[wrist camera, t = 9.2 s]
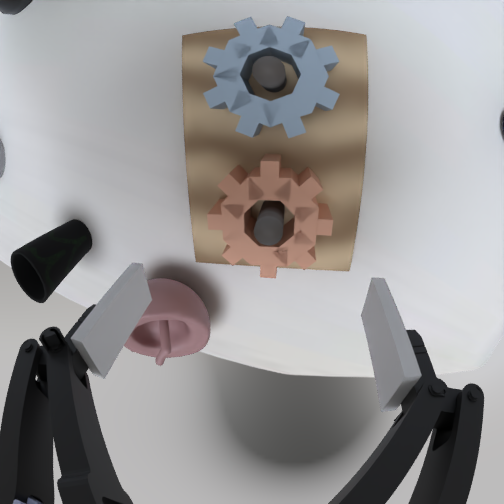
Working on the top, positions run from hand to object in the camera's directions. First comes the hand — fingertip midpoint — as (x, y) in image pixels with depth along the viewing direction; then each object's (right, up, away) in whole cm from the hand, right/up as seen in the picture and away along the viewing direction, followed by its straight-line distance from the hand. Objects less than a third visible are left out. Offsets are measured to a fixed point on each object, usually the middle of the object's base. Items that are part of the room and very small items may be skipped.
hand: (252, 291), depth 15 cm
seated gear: (+2, +18, +7) cm, 19 cm away
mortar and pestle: (-10, -4, +23) cm, 25 cm away
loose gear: (+2, +7, +13) cm, 15 cm away
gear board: (+2, +13, +11) cm, 17 cm away
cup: (-26, +5, +20) cm, 33 cm away
